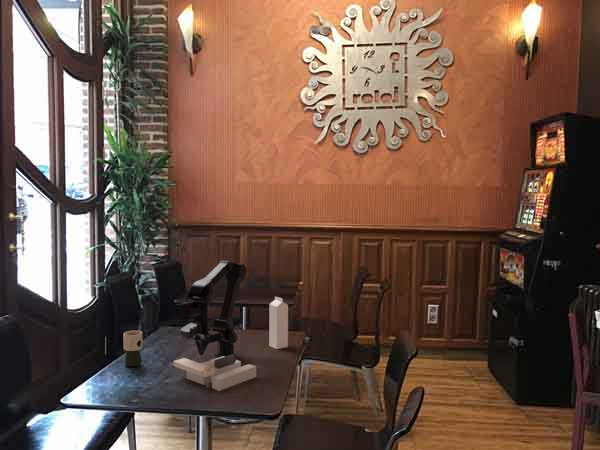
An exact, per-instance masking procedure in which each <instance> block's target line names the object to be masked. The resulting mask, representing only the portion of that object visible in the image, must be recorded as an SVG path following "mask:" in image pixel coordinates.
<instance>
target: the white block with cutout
mask: <svg viewBox="0 0 600 450" xmlns="http://www.w3.org/2000/svg"><path fill="white" fill-rule="evenodd" d="M223 357H225V356H222V357H216V358H212V359H209V360H207V361H204V362H200V363H201V364H203V365H206V366H209V367H212V368H213V369H215V374H213V375H210V376H208V377H204V376H199V375H196V374H194V373H191V372H188V371H186V379H187V380H189V381H193V382H195V383H198V384H200V385H203V386H205V388H210V387H211V388H212V389H213V390H215V391H218V392H220V391H223V390H226V389H228V388H231V387H234V386H236V385H239V384H241V383H243V382H246V381H249V380H252V379H254V378H257V366H256V365H254V364H250V363H248V364H245V365H243V366H242V361H241V360H238V359H236V362H235V363H233V364H230V365H227V366H224V367H221V368H216V367H215V366H214V361H215V360H217V359H220V358H223Z"/></svg>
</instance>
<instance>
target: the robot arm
mask: <svg viewBox="0 0 600 450" xmlns="http://www.w3.org/2000/svg"><path fill="white" fill-rule="evenodd" d="M247 272H248V269H247V266H246V265H245V264H243V263H236V262H233V261H231V260H223V259H222V260H220V261H218V264H217V265H216V266H215V267H214V268H213V269H212V270H211V271H210V272H209V273H208V274H207V275H206V276H205V277H204V278H201V279H199V280H197V281H195V282H193V284H192V285H190V288H189V291H188V293H187V295H186V299H185V301H183V302H182V306H180V307H179V308H178V311H177V312H178V313H177V314H178V317H179V319H180V320H181V321H182V322H188V321H190V323H187V324H186V325H184V326H182V327H181V329H180V335H181V336H182V338H186V339H187V340H190V339H191V340H192V341H194V343H195V345H196V348H197V350H198V354H199V356H204V353H205V352H206V350H207V348H208V345H209V344H211V343H215V342H217V353H214V356H215V357H217V358H219V357H222V356H225V357H226V356H229V355H232V354H233V355H234V356H235V357H236V356H237V354H236V353H234V351H235V348H234V347H235V346H234V344H235V343H237V341H238V334H237V333H236V332H235V331H234V329H235V324H234V322H233V314H234V310H235V307H236V306H235V305H236V300H237V298H238V297H237V296H238V291H239V288H240V287H239V286H240V284H242V283H243V281H244V280H245V277H246V274H247ZM224 276H225V278H226V282H227V283H226V289H225V293H224V297H223V301H222V306H221V311H220V315H219V317H218V318H217V319H216V318H214V320H213V324H212V327H209V324H210V323H209V322H210V321H212V317H211V316H210V315H209V312H210V311H209V310H210V309H209V307H210V306H209V303H212V302H213V301H212V299H211V298H210V297H211V295H212V294H213V293H214V290H215V289H214V287H215V286H216V285H217V284H218V283H219V282H220V281H221V280H222V279H223V278H224ZM209 316H210V317H209Z"/></svg>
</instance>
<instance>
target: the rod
mask: <svg viewBox="0 0 600 450" xmlns="http://www.w3.org/2000/svg"><path fill="white" fill-rule="evenodd" d="M236 360H237V358H236V355H235V356H234V355H233V354H232V355H229V356H226V357H223V358H220V359H217V360H215V361H214V366H215V367H216V368H221V367H224V366H227V365H230V364H233V363H235V362H236Z"/></svg>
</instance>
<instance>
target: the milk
mask: <svg viewBox="0 0 600 450" xmlns="http://www.w3.org/2000/svg"><path fill="white" fill-rule="evenodd" d="M283 300H284V299H283V298H282V297H278V296H274V300H273V301H271V302H270V303H269V306H268V307H269V314H268V315H269V325H268V328H269V331H268V332H269V334H268V335H269V336H268V337H269V340H268V341H269V342H268V345H269V347H271V348H273V349H275V350H279V349H284V348H288V347H289V346H288V345H289V305H288V304H287V303H286V302H284V301H283Z"/></svg>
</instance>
